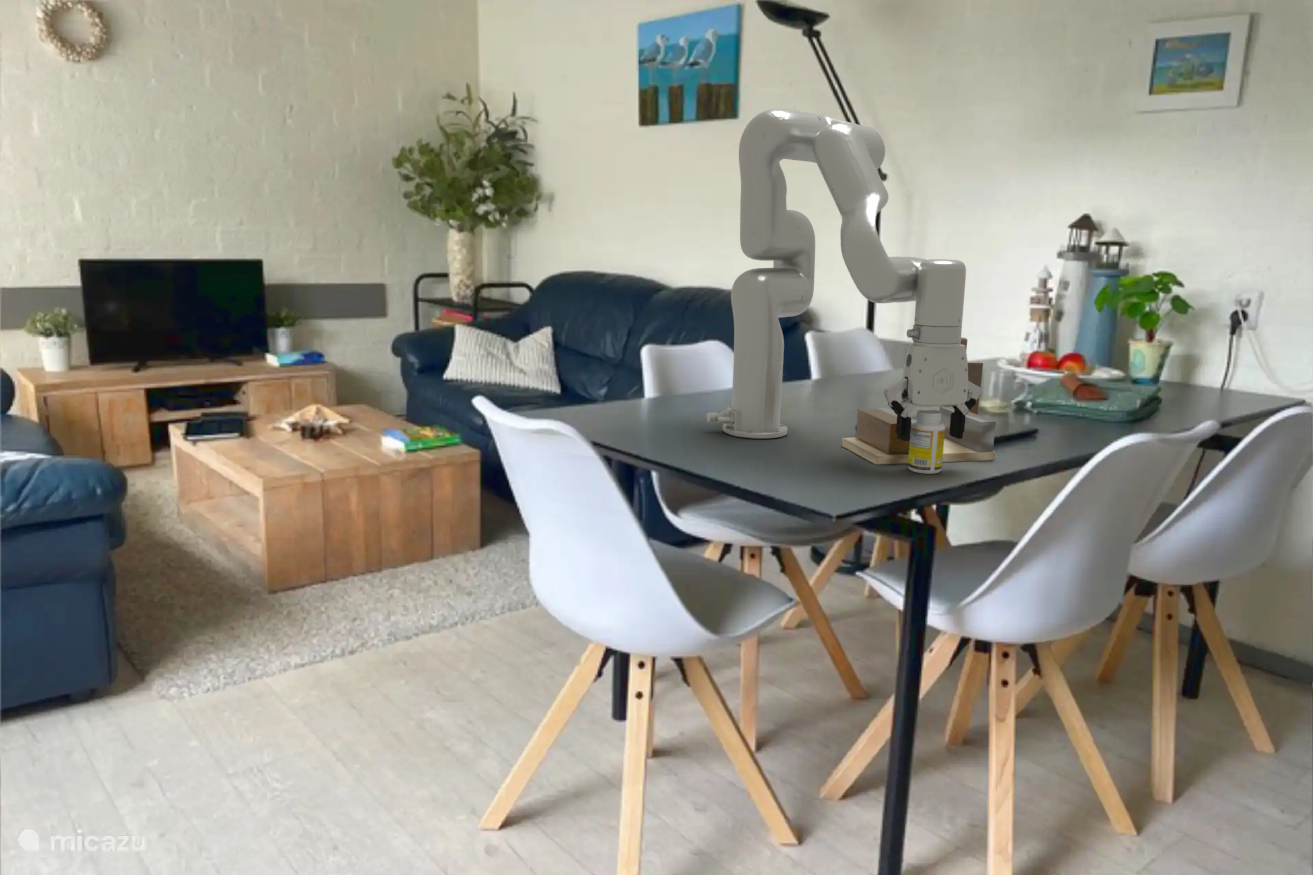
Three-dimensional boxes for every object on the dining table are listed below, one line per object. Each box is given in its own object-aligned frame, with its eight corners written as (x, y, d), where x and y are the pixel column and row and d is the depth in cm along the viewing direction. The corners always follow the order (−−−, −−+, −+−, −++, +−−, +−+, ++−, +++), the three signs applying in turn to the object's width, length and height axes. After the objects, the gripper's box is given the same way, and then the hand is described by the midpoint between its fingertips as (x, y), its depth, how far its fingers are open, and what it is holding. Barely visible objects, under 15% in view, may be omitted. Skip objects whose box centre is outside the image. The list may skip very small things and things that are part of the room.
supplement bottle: (933, 466, 167) (939, 408, 165) (946, 474, 162) (952, 414, 159) (902, 466, 166) (907, 407, 164) (914, 474, 161) (919, 414, 159)
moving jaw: (889, 454, 167) (892, 424, 166) (854, 436, 181) (856, 408, 179) (921, 453, 169) (923, 423, 168) (884, 435, 182) (886, 407, 181)
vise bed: (875, 464, 167) (878, 424, 166) (841, 445, 180) (844, 408, 179) (994, 460, 173) (998, 421, 171) (953, 442, 186) (956, 406, 184)
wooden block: (959, 432, 195) (968, 343, 191) (937, 421, 205) (945, 336, 201) (977, 432, 195) (986, 343, 191) (954, 421, 206) (962, 336, 202)
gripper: (899, 339, 153) (893, 445, 157) (997, 337, 157) (988, 441, 161) (878, 334, 160) (872, 435, 164) (972, 333, 164) (964, 432, 168)
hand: (929, 438), depth 162 cm, fingers open, 9 cm apart
